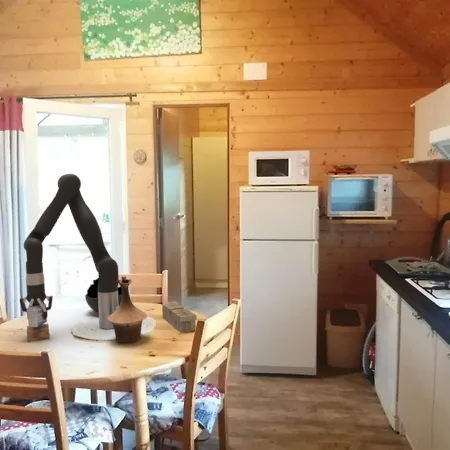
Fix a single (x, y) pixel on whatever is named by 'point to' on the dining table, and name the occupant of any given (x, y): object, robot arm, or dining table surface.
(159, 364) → the dining table surface
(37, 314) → the medicine box
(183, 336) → the dining table surface
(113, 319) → the brown clay vase
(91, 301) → the bowl of black rocks
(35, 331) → the walnut block
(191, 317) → the block tower
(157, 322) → the dining table surface
